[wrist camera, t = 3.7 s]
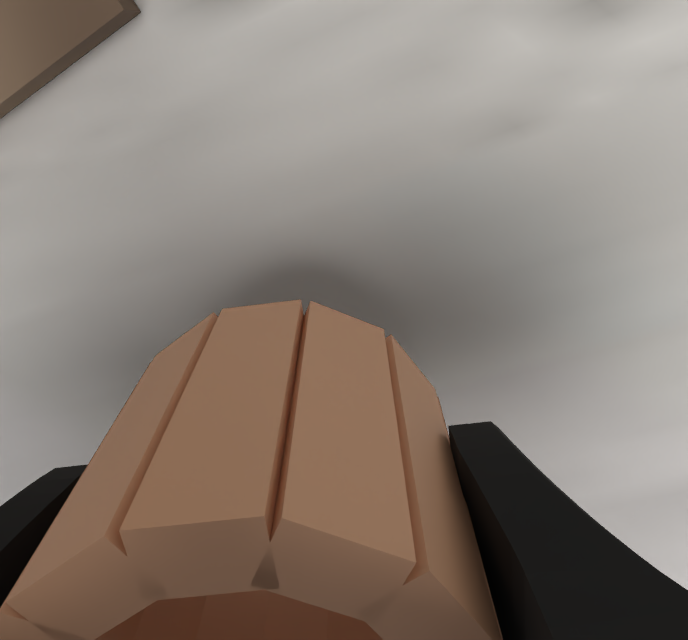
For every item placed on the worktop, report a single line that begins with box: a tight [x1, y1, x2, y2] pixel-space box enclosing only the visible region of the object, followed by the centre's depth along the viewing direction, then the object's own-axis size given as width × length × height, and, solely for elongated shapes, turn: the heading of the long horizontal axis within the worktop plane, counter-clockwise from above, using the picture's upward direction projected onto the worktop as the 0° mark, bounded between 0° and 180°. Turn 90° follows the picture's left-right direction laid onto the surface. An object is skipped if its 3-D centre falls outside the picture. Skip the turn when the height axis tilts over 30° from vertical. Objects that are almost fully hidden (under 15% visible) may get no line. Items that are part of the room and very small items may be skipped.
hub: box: [0, 299, 503, 640], centre depth 9 cm, size 5×5×5 cm
